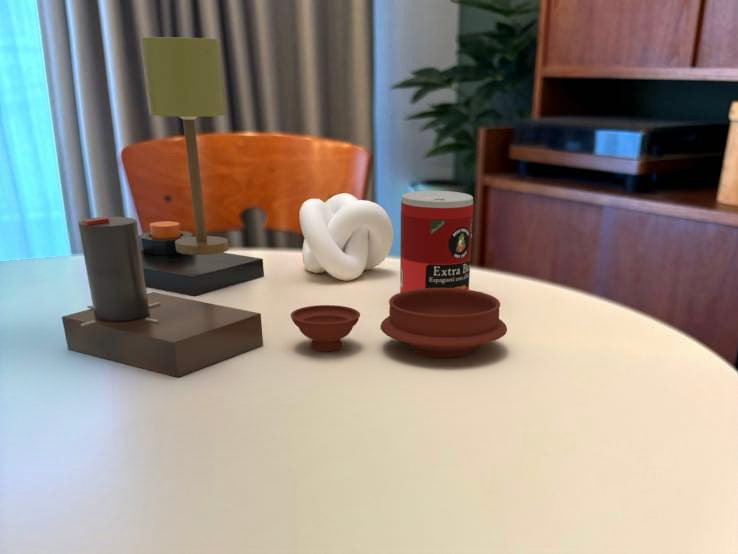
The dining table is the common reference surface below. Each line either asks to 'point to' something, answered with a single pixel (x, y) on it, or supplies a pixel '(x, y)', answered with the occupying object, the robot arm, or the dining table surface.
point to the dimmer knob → (114, 268)
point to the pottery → (414, 321)
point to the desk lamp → (187, 110)
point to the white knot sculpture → (344, 235)
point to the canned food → (435, 240)
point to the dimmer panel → (167, 335)
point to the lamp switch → (165, 229)
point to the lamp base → (193, 267)
